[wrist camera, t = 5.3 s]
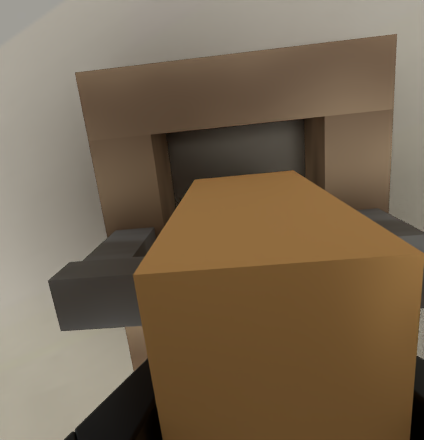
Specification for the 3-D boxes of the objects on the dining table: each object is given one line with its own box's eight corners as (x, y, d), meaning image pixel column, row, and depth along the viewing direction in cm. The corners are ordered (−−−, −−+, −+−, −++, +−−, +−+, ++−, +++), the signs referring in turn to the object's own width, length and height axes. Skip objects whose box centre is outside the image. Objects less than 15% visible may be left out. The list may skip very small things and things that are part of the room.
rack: (354, 329, 22) (446, 475, 13) (151, 341, 23) (100, 485, 14) (359, 54, 17) (509, -29, 8) (106, 84, 18) (-15, 39, 9)
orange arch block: (298, 322, 15) (397, 594, 6) (212, 327, 15) (190, 594, 6) (293, 170, 13) (425, 253, 4) (194, 179, 13) (132, 275, 5)
